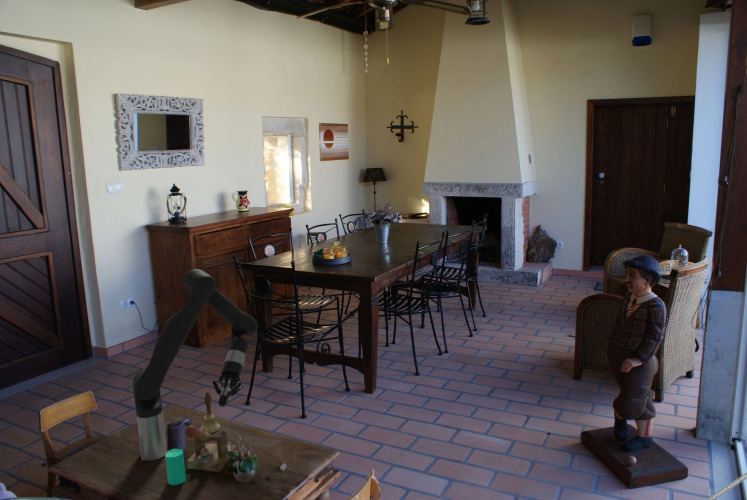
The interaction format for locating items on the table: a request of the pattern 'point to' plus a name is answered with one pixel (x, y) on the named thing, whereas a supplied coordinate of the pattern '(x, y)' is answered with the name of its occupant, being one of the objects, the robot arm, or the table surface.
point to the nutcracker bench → (213, 462)
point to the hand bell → (209, 417)
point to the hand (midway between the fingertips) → (221, 406)
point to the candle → (175, 466)
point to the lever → (198, 434)
